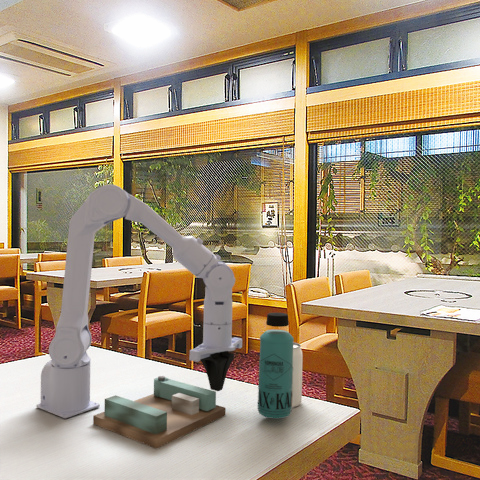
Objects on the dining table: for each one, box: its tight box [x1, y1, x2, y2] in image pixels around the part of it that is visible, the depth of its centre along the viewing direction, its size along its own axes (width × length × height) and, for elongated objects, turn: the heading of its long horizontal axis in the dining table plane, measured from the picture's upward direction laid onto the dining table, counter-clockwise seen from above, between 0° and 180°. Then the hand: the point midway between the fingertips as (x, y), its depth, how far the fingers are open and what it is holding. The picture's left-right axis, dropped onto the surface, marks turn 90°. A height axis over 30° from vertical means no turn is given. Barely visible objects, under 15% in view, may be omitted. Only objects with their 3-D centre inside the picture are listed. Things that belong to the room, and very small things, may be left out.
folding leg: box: [153, 375, 217, 411], centre depth 97 cm, size 14×3×4 cm, turn 54°
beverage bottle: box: [256, 312, 295, 419], centre depth 92 cm, size 6×7×20 cm
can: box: [291, 341, 304, 409], centre depth 101 cm, size 6×6×12 cm
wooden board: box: [92, 393, 227, 450], centre depth 92 cm, size 16×18×4 cm
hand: (216, 389), depth 100 cm, fingers closed
